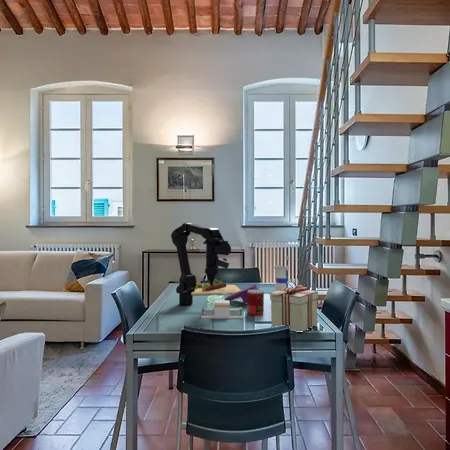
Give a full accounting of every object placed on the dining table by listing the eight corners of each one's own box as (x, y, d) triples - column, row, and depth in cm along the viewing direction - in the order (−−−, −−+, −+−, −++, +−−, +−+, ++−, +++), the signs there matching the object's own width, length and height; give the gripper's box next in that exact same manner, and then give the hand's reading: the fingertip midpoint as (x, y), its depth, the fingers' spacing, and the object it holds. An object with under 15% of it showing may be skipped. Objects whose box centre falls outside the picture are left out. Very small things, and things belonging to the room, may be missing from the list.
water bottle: (276, 298, 220) (277, 254, 220) (291, 299, 216) (291, 255, 215) (271, 300, 213) (271, 255, 213) (285, 302, 209) (286, 256, 208)
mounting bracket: (228, 314, 206) (259, 302, 202) (222, 300, 207) (252, 287, 203) (232, 310, 215) (262, 298, 211) (226, 296, 216) (255, 284, 212)
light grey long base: (201, 318, 177) (201, 310, 176) (202, 313, 186) (202, 305, 185) (242, 318, 177) (242, 310, 177) (241, 313, 186) (241, 305, 186)
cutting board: (184, 296, 226) (184, 283, 226) (181, 289, 249) (181, 277, 249) (243, 294, 232) (243, 282, 232) (235, 287, 255) (235, 276, 255)
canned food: (259, 316, 180) (259, 293, 180) (244, 314, 184) (244, 291, 184) (266, 313, 187) (266, 290, 186) (251, 311, 191) (251, 288, 191)
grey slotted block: (214, 316, 178) (214, 303, 178) (214, 312, 184) (214, 300, 184) (229, 316, 178) (229, 303, 178) (229, 313, 184) (229, 300, 184)
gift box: (280, 318, 177) (280, 281, 176) (318, 325, 166) (319, 285, 166) (261, 327, 163) (262, 286, 162) (302, 335, 152) (303, 292, 152)
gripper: (228, 255, 180) (228, 289, 181) (228, 251, 199) (227, 282, 199) (204, 255, 180) (204, 289, 180) (206, 251, 199) (206, 282, 199)
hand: (211, 285), depth 190 cm, fingers closed
